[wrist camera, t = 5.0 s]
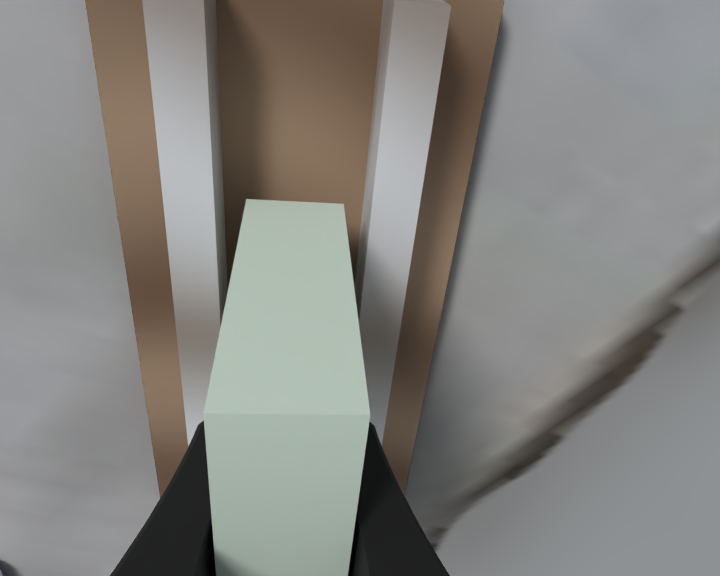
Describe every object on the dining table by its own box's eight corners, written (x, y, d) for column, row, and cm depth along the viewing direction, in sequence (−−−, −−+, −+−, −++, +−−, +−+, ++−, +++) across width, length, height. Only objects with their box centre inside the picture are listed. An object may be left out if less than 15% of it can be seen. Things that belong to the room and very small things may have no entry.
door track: (398, 496, 21) (407, 551, 19) (166, 498, 20) (152, 556, 18) (495, -3, 12) (528, 12, 10) (89, -41, 11) (49, -31, 9)
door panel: (322, 461, 16) (329, 704, 11) (250, 461, 16) (226, 709, 11) (343, 204, 12) (370, 414, 7) (246, 199, 12) (203, 413, 7)
